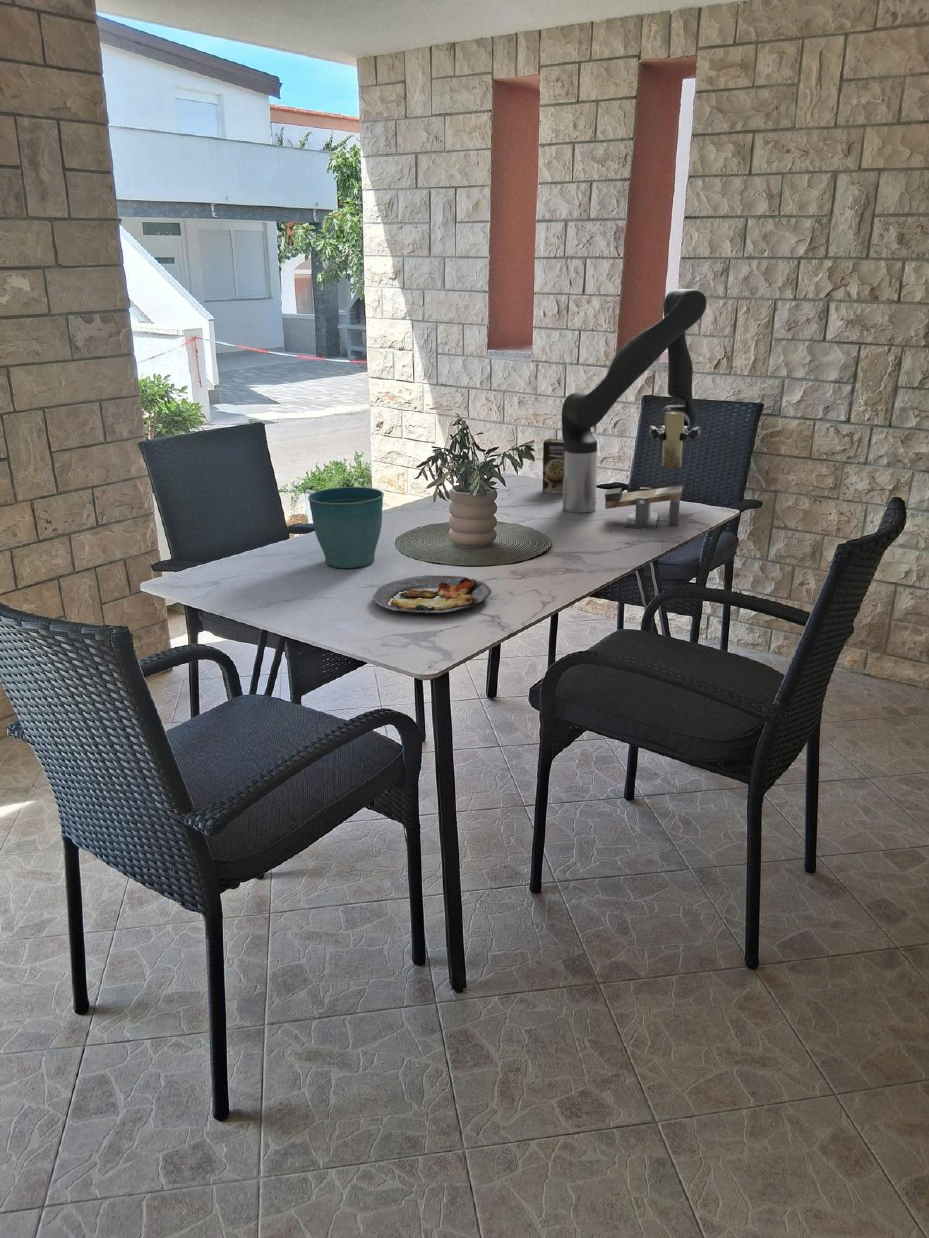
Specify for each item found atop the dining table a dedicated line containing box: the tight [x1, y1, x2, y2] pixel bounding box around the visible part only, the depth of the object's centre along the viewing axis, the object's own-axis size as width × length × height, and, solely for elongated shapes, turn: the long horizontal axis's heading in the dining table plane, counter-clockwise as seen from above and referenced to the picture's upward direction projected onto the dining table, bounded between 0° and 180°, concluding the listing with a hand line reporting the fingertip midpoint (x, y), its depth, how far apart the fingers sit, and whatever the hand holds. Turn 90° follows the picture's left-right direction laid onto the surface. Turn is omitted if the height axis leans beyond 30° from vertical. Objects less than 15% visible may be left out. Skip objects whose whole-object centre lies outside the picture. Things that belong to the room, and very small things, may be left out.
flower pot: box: [307, 486, 384, 569], centre depth 227 cm, size 18×18×17 cm
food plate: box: [372, 574, 492, 615], centre depth 202 cm, size 25×23×4 cm
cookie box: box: [542, 438, 565, 494], centre depth 293 cm, size 9×6×16 cm
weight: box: [661, 412, 684, 469], centre depth 249 cm, size 5×5×14 cm
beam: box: [604, 485, 684, 510], centre depth 256 cm, size 20×10×4 cm, turn 75°
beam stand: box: [625, 487, 681, 530], centre depth 257 cm, size 14×14×8 cm
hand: (673, 437), depth 247 cm, fingers closed on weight, 5 cm apart
